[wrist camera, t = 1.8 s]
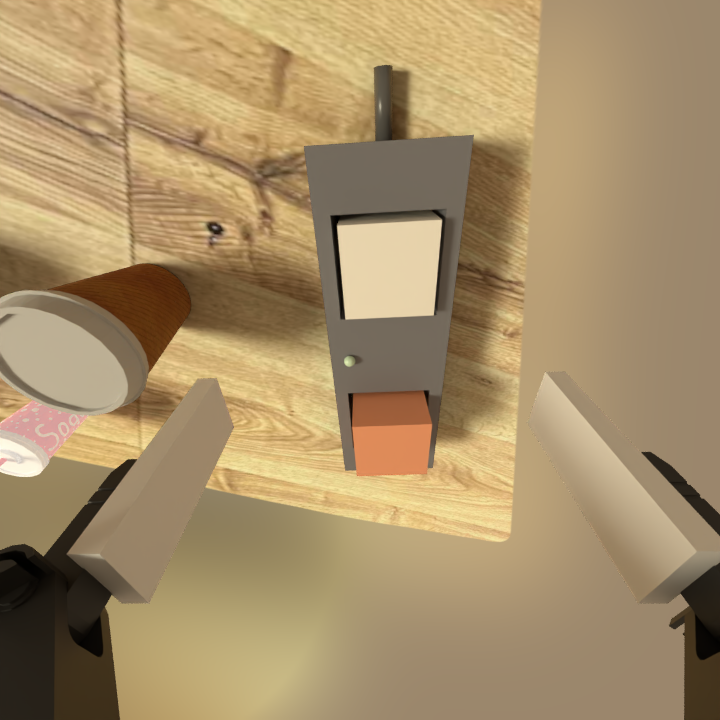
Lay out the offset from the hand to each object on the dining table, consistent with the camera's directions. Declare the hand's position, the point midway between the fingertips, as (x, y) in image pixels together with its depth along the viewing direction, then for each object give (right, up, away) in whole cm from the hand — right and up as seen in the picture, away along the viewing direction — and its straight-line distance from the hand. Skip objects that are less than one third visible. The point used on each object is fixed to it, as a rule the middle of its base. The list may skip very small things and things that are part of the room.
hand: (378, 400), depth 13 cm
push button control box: (+2, +6, +18) cm, 19 cm away
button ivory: (+1, +11, +14) cm, 18 cm away
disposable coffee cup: (-20, +8, +17) cm, 28 cm away
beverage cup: (-35, -3, +24) cm, 43 cm away
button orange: (+2, -4, +20) cm, 21 cm away
